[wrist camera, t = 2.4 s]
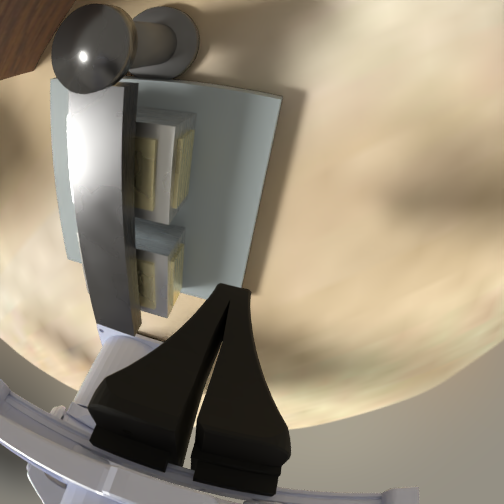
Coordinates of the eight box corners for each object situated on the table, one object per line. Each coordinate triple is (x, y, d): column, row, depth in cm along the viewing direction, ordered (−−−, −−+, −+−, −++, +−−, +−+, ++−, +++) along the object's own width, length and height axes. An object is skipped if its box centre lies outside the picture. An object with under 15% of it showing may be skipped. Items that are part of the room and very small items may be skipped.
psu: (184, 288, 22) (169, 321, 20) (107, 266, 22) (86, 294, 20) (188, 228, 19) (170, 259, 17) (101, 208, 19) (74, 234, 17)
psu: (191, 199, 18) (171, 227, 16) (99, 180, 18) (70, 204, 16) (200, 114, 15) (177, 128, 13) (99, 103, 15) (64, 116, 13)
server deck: (240, 295, 23) (223, 356, 19) (75, 250, 24) (37, 294, 19) (299, 21, 13) (295, 4, 8) (67, 15, 13) (2, 19, 9)
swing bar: (147, 324, 20) (135, 348, 18) (99, 309, 20) (86, 330, 18) (158, 5, 9) (133, -1, 8) (85, 10, 9) (55, 10, 8)
